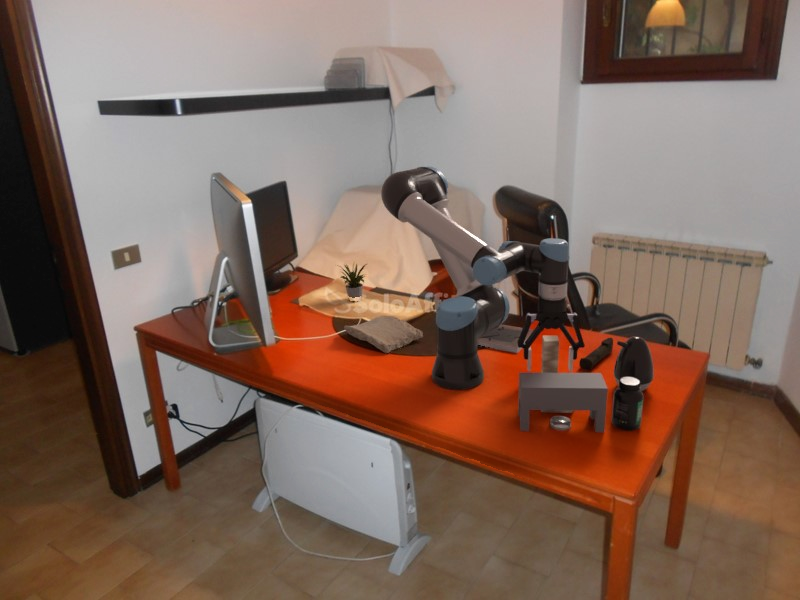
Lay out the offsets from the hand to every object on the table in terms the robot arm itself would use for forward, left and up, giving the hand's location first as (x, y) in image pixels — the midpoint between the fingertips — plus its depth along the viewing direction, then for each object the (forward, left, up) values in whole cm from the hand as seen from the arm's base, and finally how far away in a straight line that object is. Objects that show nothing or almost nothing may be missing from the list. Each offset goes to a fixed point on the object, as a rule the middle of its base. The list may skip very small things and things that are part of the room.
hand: (549, 369), depth 169 cm
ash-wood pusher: (0, -7, -4) cm, 8 cm away
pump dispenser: (+22, -3, -4) cm, 23 cm away
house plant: (-70, +69, -4) cm, 99 cm away
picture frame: (-14, +31, -5) cm, 35 cm away
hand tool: (+16, +16, -4) cm, 23 cm away
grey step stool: (0, -22, -4) cm, 22 cm away
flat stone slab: (-53, +31, -5) cm, 62 cm away
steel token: (0, -23, -4) cm, 23 cm away
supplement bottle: (+16, -22, -4) cm, 28 cm away
